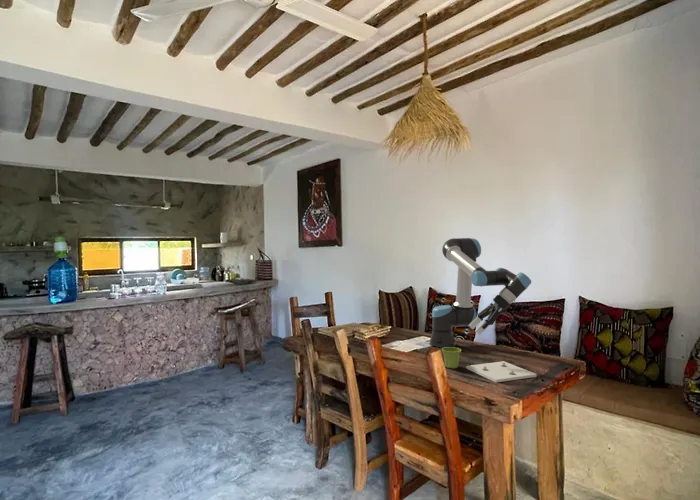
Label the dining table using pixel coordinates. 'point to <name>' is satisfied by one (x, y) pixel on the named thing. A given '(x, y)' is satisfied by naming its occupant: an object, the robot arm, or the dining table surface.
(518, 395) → the dining table surface
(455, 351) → the plant pot
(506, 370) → the pin board
